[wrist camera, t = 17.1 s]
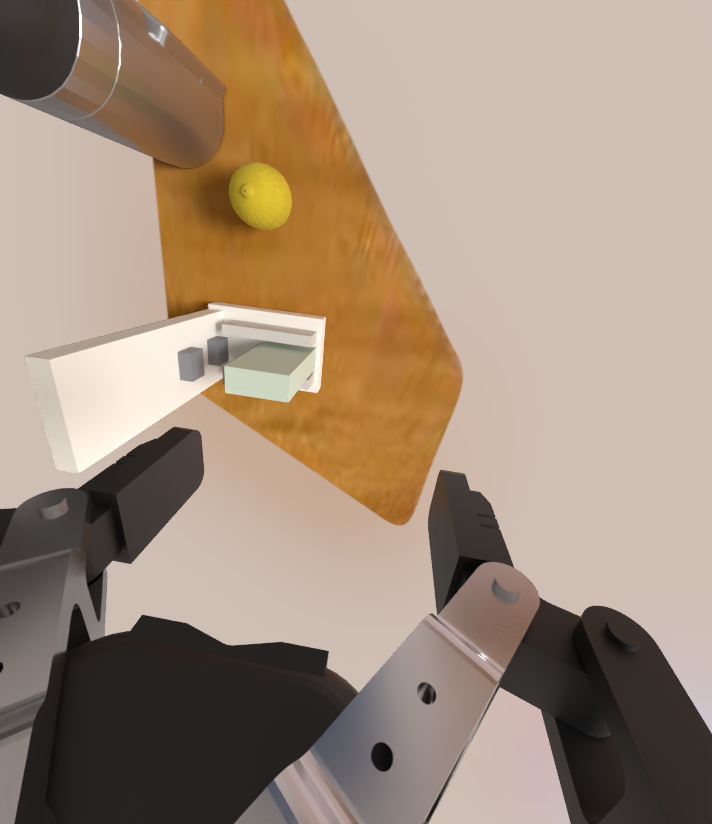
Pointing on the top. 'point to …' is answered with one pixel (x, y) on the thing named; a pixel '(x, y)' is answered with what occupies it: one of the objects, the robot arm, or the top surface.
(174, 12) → the top surface
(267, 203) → the lemon
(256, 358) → the pale green slab
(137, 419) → the white tall l-shaped piece
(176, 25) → the top surface
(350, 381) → the top surface
